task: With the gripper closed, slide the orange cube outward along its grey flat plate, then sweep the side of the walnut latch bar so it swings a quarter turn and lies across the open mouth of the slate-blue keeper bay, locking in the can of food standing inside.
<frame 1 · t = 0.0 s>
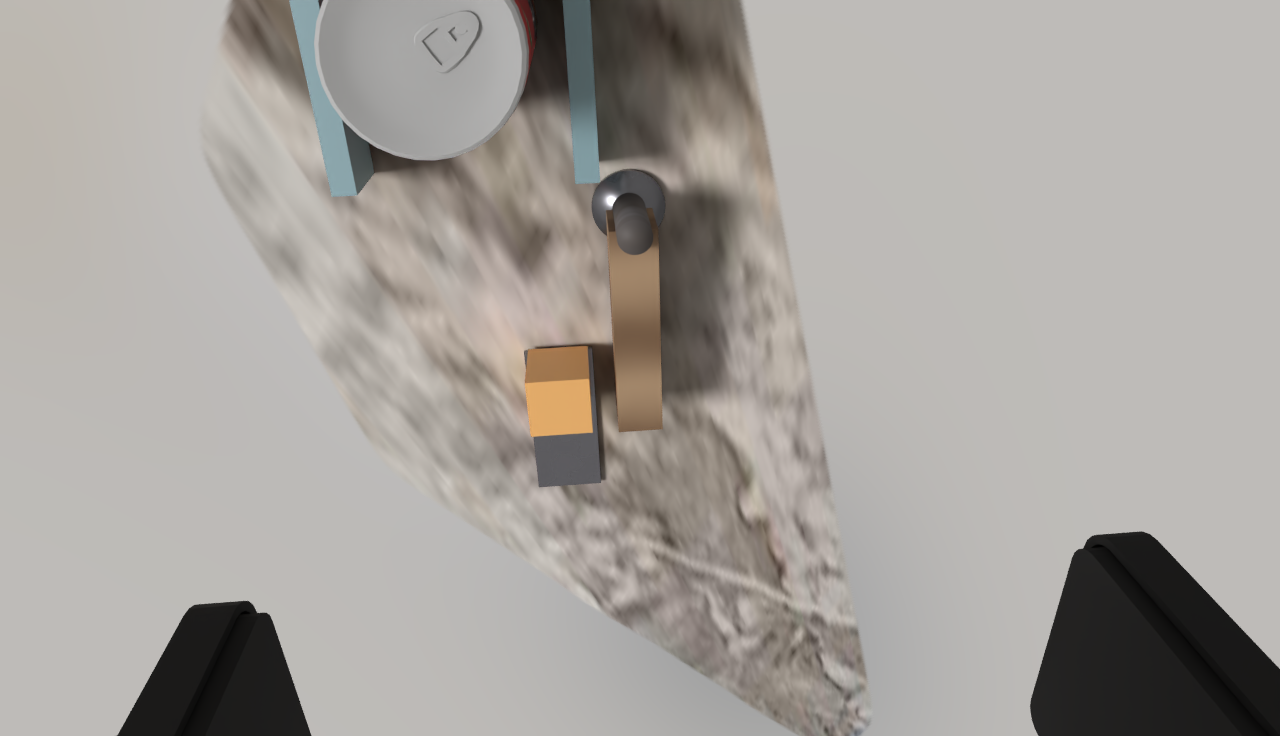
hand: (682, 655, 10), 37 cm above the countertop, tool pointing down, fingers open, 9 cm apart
orange cube: (559, 390, 47), point 2 cm above the countertop, slide at 0.0 cm
grey flat plate: (564, 418, 51), on the countertop
keeper bay: (458, 35, 40), on the countertop
latch bar: (635, 319, 45), point 3 cm above the countertop, hinge at 0.0°
hinge base: (628, 205, 45), on the countertop
canned food: (457, 24, 40), resting in keeper bay
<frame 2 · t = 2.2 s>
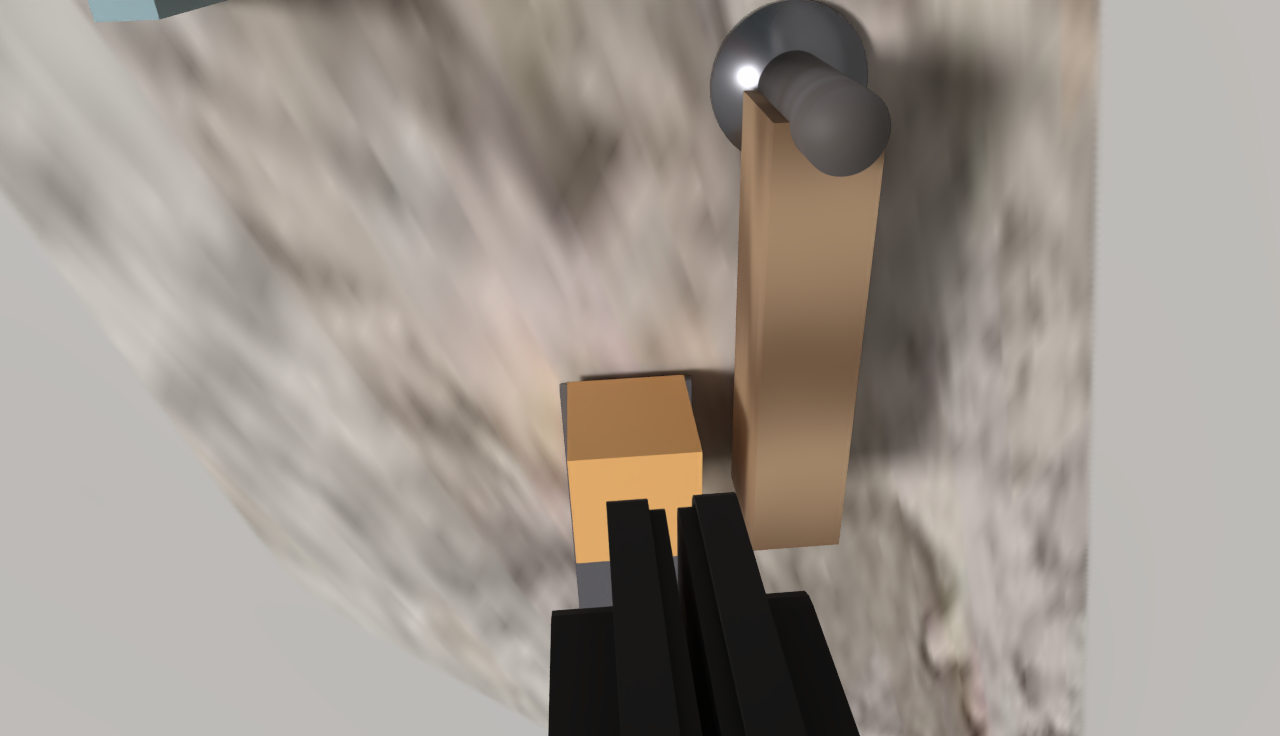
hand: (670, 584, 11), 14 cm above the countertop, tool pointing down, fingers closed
orange cube: (632, 465, 24), point 2 cm above the countertop, slide at 0.0 cm
grey flat plate: (630, 505, 27), on the countertop
latch bar: (800, 327, 21), point 3 cm above the countertop, hinge at 0.0°
hinge base: (787, 83, 21), on the countertop
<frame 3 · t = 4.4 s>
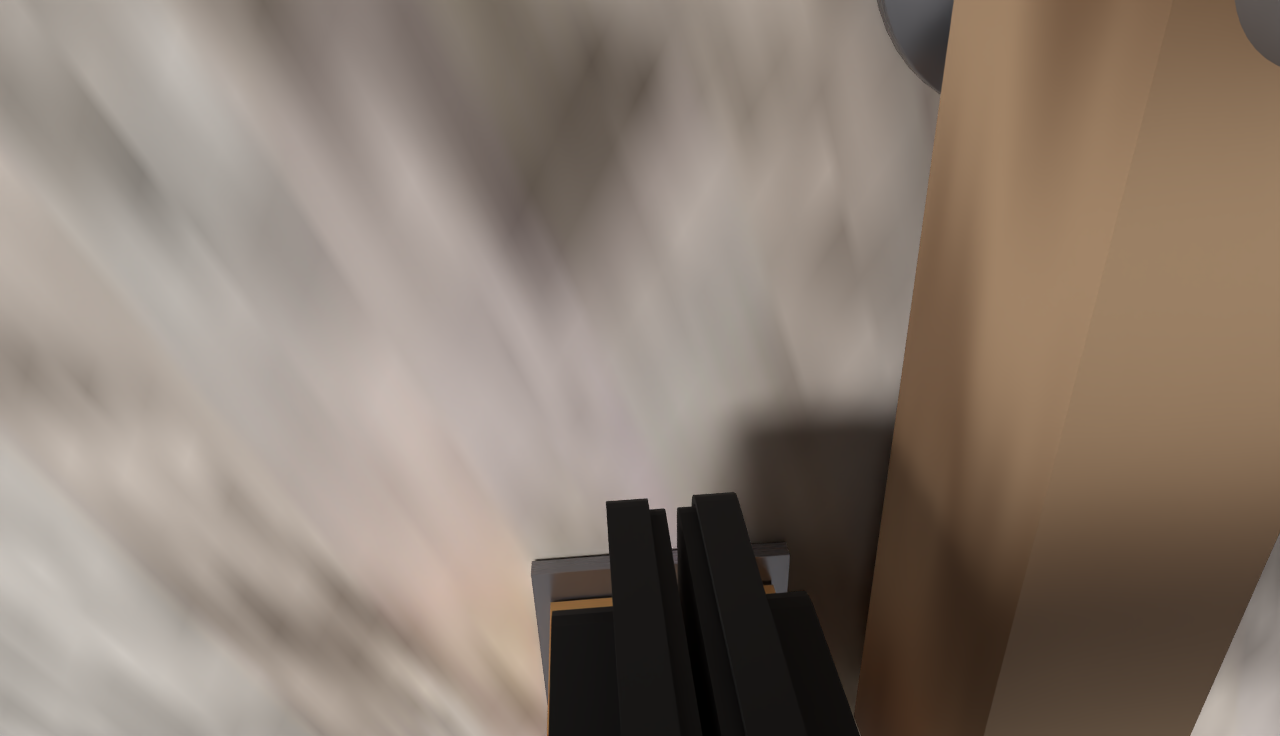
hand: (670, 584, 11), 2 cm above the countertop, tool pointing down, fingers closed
latch bar: (1081, 492, 9), point 3 cm above the countertop, hinge at 0.0°
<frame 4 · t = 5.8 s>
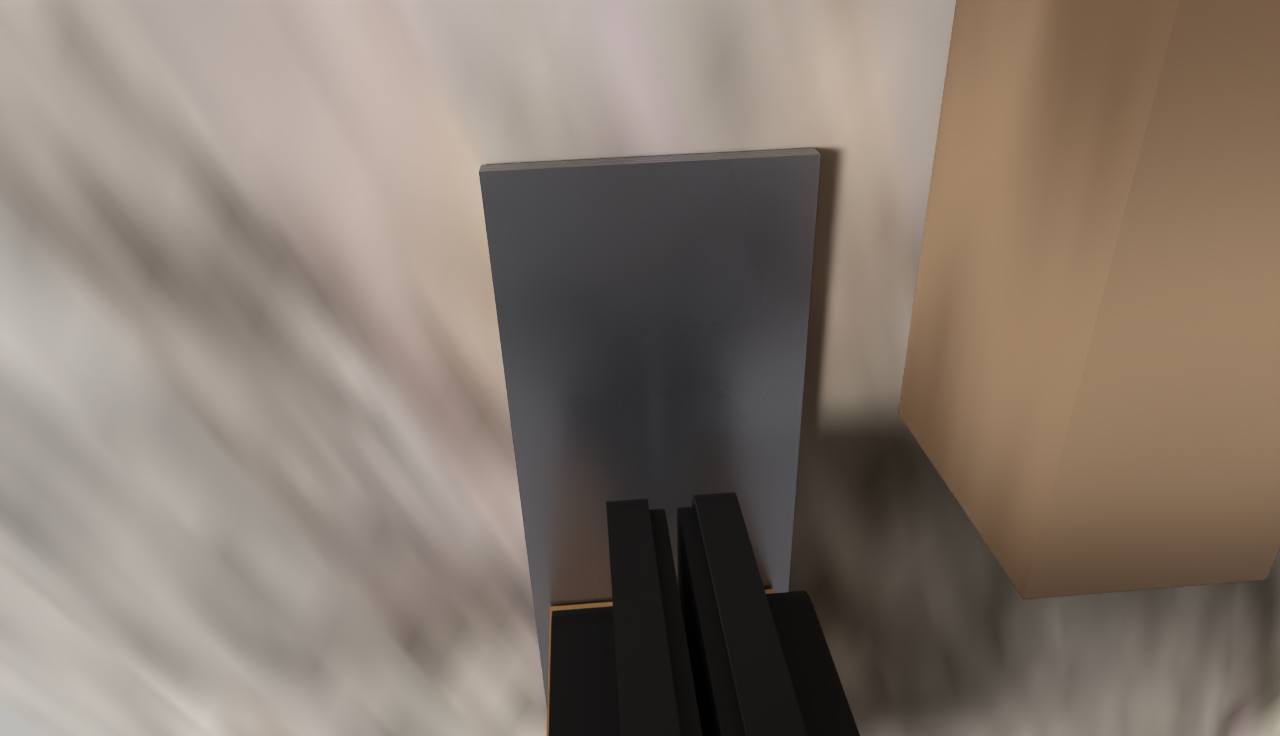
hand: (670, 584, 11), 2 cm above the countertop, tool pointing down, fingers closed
grey flat plate: (658, 486, 12), on the countertop
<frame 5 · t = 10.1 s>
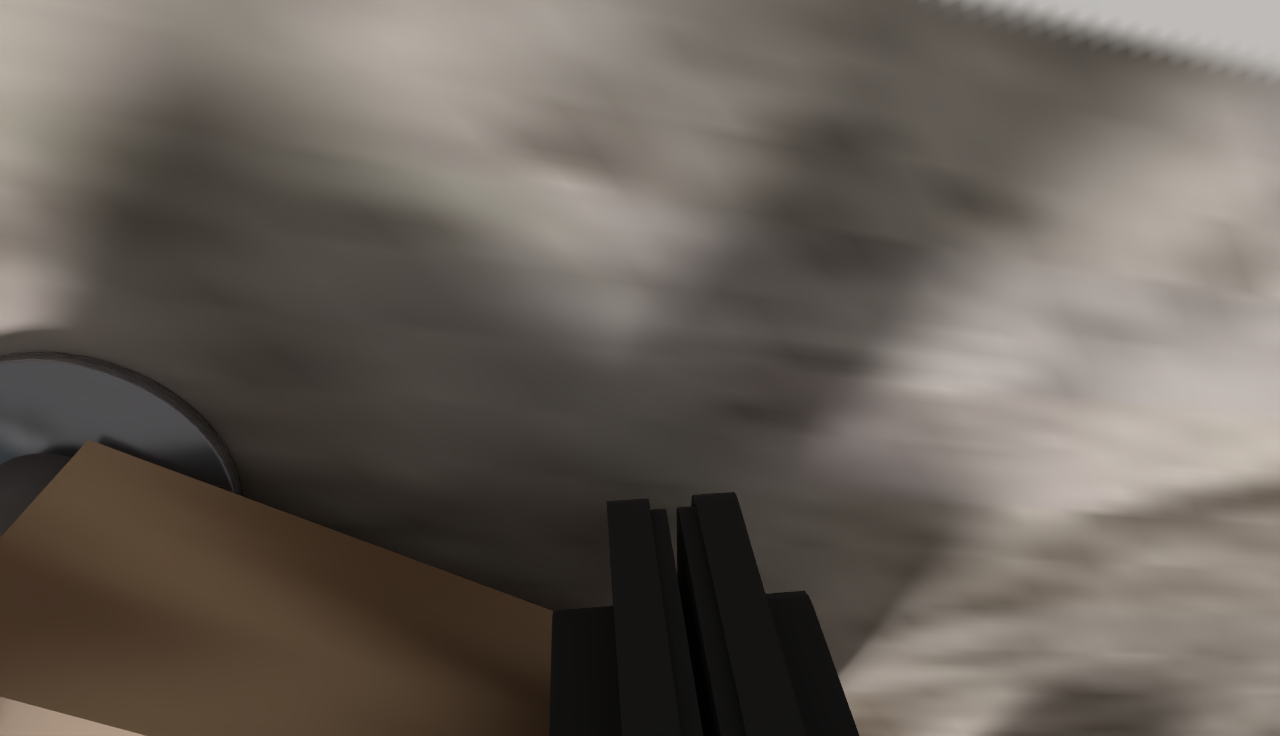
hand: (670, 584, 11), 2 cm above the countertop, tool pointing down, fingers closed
hinge base: (85, 483, 11), on the countertop
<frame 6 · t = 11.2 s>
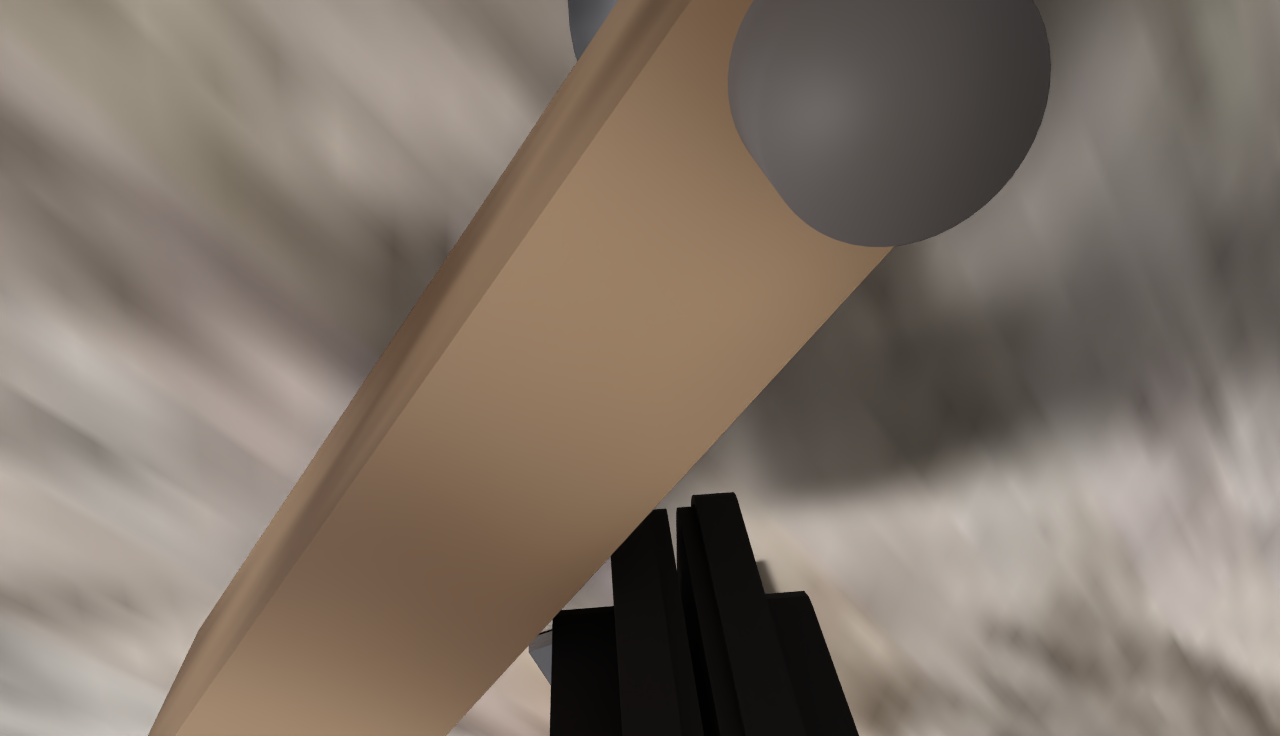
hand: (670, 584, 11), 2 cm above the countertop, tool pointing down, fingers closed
latch bar: (468, 481, 9), point 3 cm above the countertop, hinge at -57.1°, touching gripper
hinge base: (741, 4, 9), on the countertop
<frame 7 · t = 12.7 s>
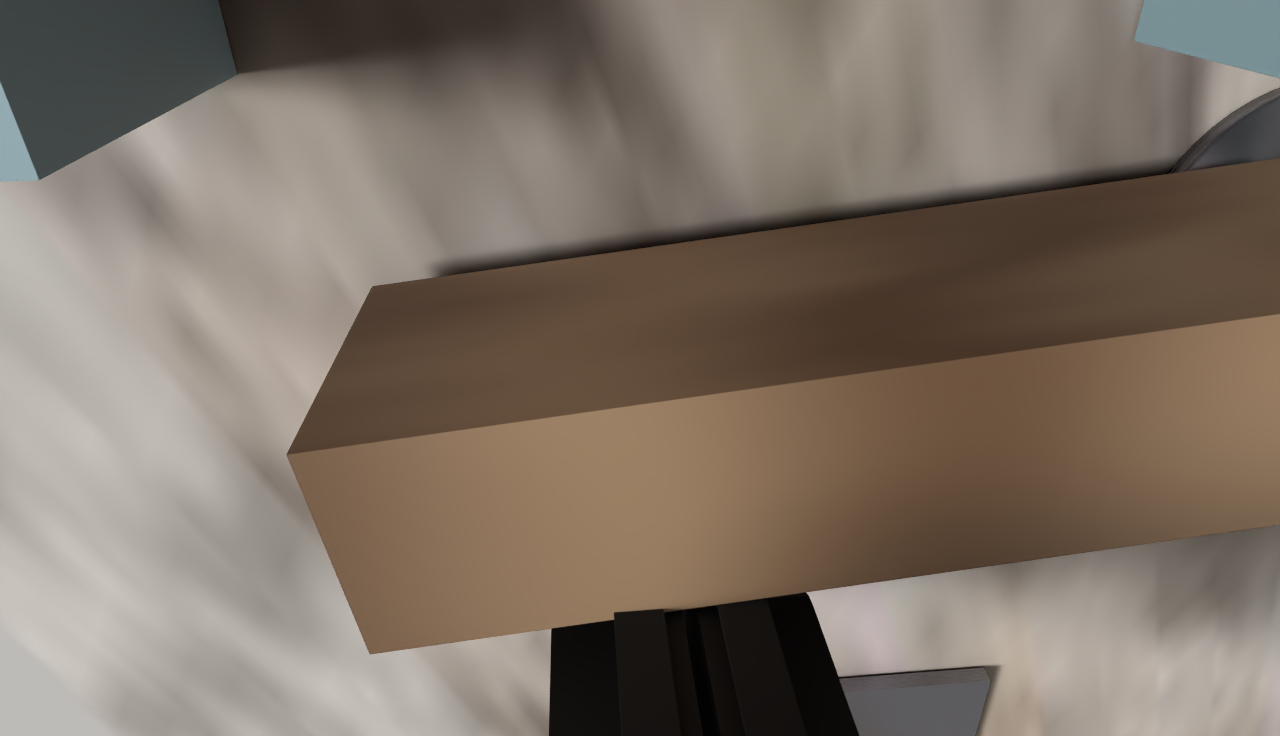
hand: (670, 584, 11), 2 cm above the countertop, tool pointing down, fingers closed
latch bar: (963, 397, 9), point 3 cm above the countertop, hinge at -84.5°, touching gripper
hinge base: (1277, 228, 11), on the countertop
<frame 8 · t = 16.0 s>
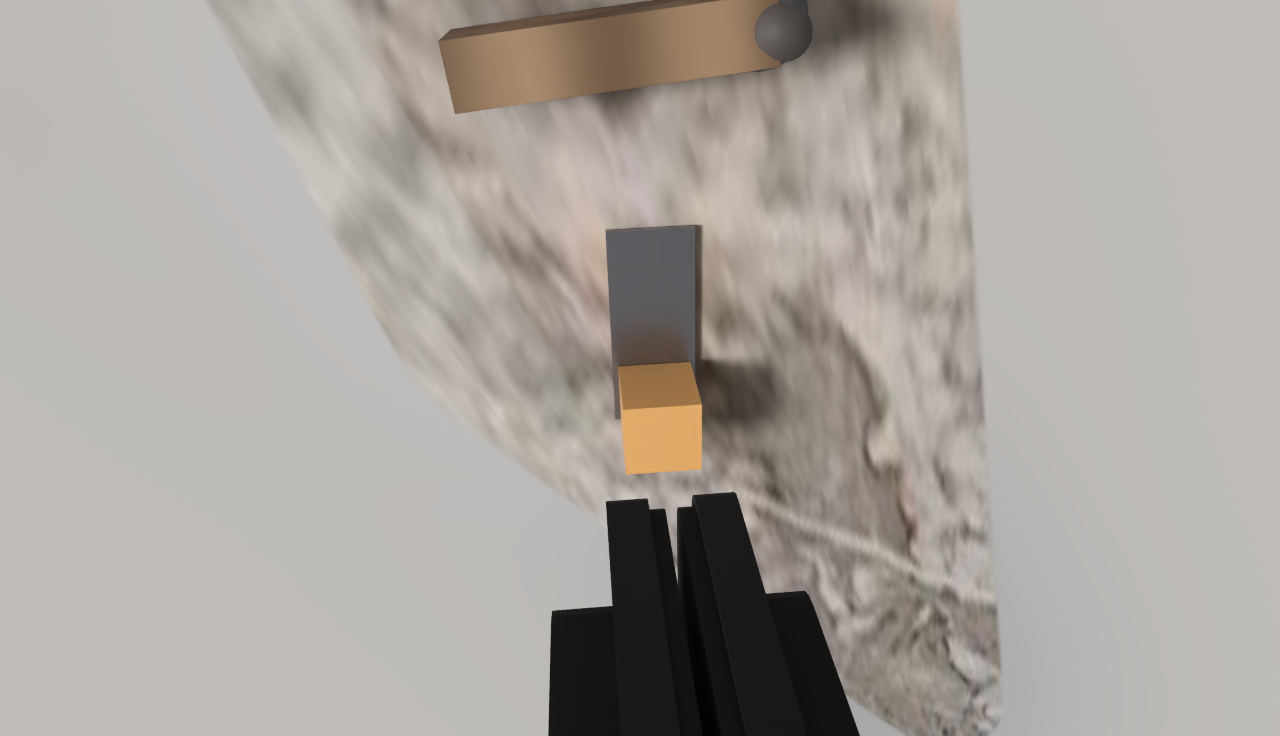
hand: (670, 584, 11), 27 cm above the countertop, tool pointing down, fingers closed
orange cube: (659, 416, 39), point 2 cm above the countertop, slide at 7.0 cm
grey flat plate: (652, 326, 39), on the countertop
latch bar: (624, 47, 30), point 3 cm above the countertop, hinge at -84.6°
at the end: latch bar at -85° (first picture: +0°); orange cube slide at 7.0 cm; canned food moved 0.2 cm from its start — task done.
